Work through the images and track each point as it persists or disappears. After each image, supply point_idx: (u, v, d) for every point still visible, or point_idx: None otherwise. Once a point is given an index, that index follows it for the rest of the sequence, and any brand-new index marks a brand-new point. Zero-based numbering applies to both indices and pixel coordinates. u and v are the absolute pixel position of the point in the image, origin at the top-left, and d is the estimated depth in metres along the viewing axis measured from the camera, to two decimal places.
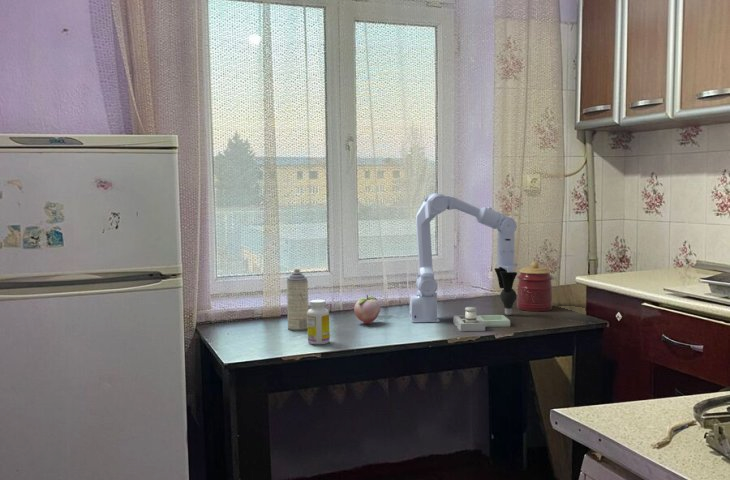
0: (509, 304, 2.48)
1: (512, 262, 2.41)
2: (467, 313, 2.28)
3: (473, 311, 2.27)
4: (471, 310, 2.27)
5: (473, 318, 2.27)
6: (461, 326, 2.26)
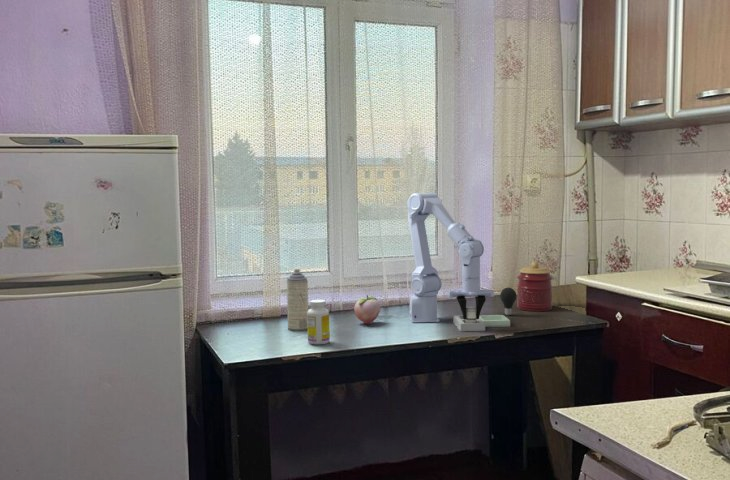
0: (509, 304, 2.48)
1: (465, 289, 2.26)
2: (467, 313, 2.28)
3: (473, 311, 2.27)
4: (471, 310, 2.27)
5: (473, 318, 2.27)
6: (461, 326, 2.26)
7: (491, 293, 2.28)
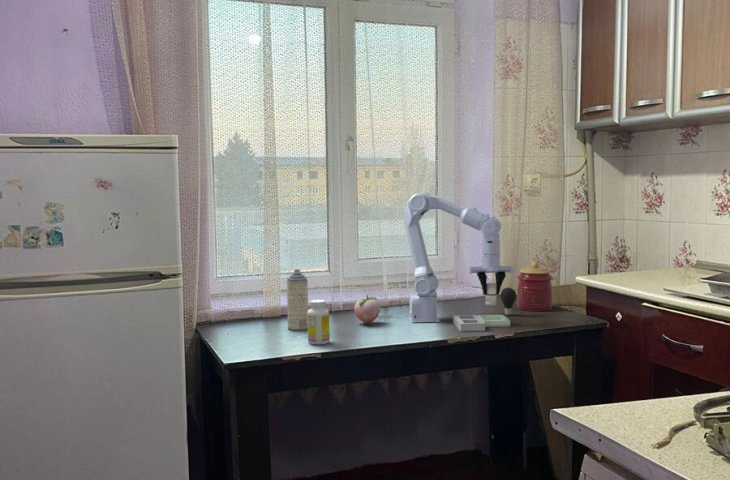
0: (509, 304, 2.48)
1: (486, 265, 2.32)
2: (487, 289, 2.33)
3: (493, 287, 2.33)
4: (492, 285, 2.32)
5: (493, 294, 2.33)
6: (461, 326, 2.26)
7: (511, 269, 2.33)
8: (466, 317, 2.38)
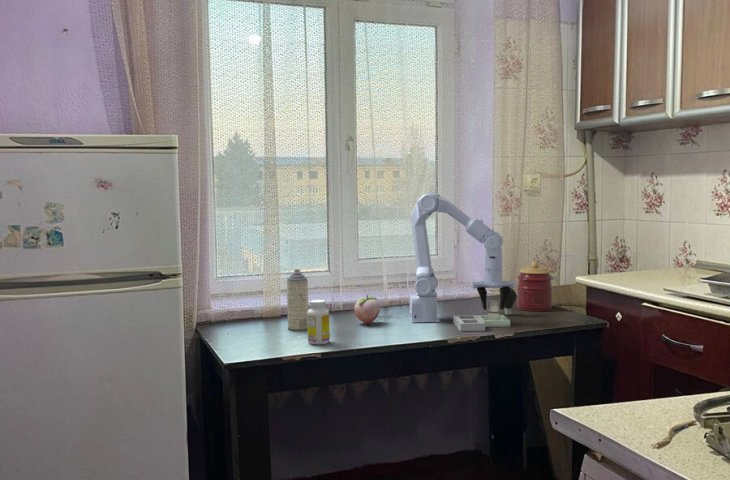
0: (509, 304, 2.48)
1: (488, 281, 2.33)
2: (490, 306, 2.35)
3: (496, 304, 2.34)
4: (494, 303, 2.34)
5: (496, 311, 2.34)
6: (461, 326, 2.26)
7: (513, 284, 2.35)
8: (466, 317, 2.38)
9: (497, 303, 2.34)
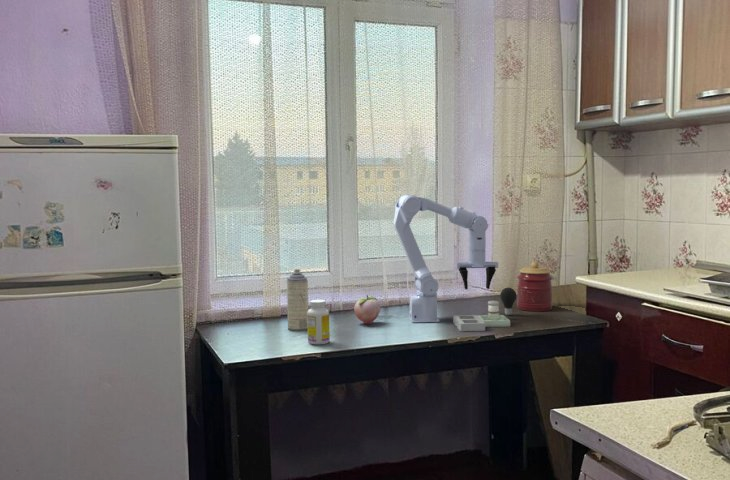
0: (509, 304, 2.48)
1: (472, 261, 2.42)
2: (490, 307, 2.35)
3: (496, 305, 2.34)
4: (494, 303, 2.34)
5: (496, 311, 2.34)
6: (461, 326, 2.26)
7: (496, 265, 2.44)
8: (466, 317, 2.38)
9: (497, 303, 2.34)
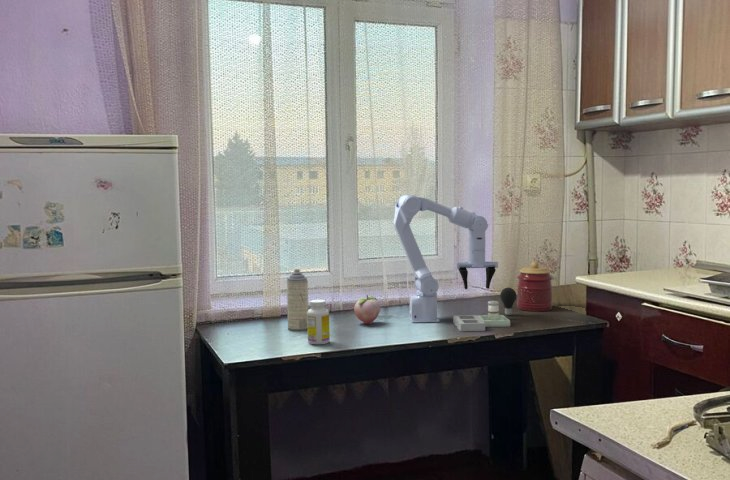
0: (509, 304, 2.48)
1: (472, 261, 2.42)
2: (490, 306, 2.35)
3: (495, 305, 2.34)
4: (494, 303, 2.34)
5: (495, 311, 2.34)
6: (461, 326, 2.26)
7: (495, 265, 2.44)
8: (466, 317, 2.38)
9: (497, 303, 2.34)
